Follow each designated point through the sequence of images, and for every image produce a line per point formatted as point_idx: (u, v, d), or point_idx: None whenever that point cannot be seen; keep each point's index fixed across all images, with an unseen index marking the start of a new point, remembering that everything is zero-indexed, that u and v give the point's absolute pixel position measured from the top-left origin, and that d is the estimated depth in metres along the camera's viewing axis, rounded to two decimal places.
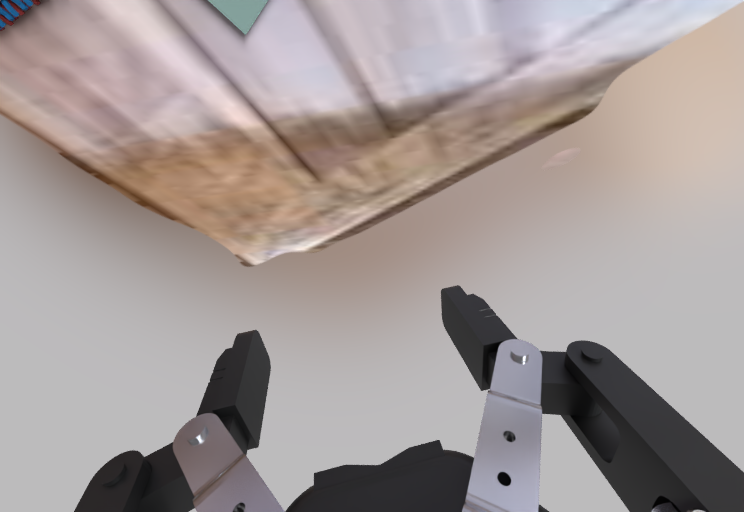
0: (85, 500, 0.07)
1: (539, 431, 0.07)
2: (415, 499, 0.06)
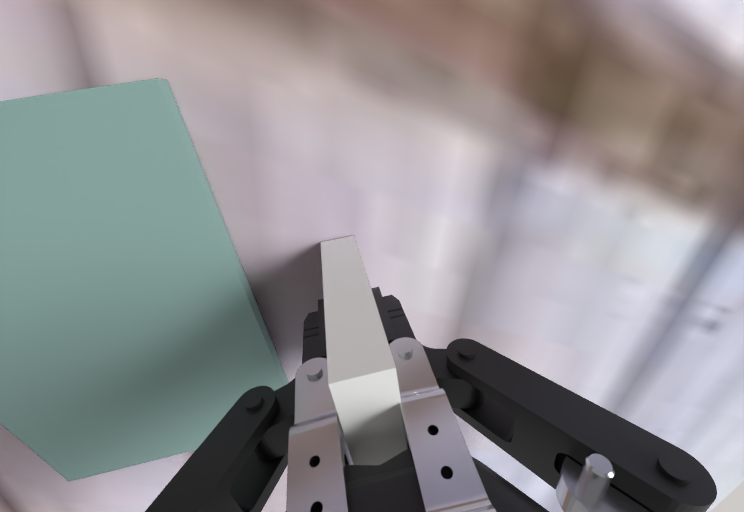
0: (233, 410, 0.09)
1: (451, 411, 0.07)
2: (415, 499, 0.06)
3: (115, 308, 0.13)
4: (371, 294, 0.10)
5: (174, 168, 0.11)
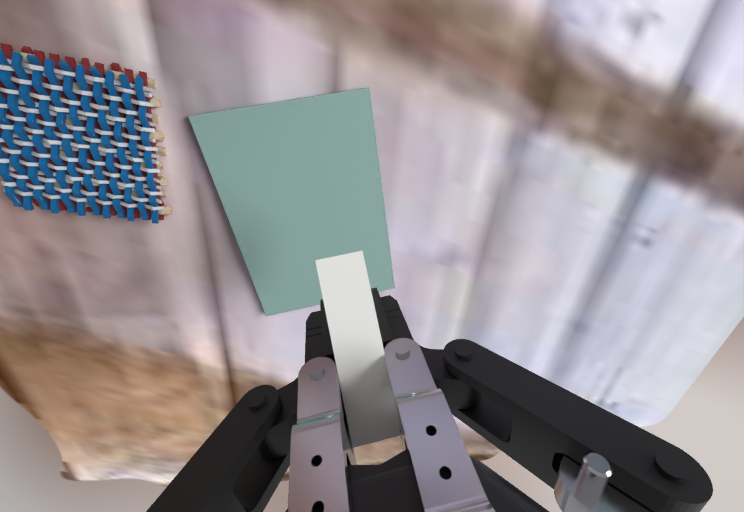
0: (236, 409, 0.09)
1: (449, 411, 0.07)
2: (415, 499, 0.06)
3: (321, 202, 0.26)
4: None
5: (366, 128, 0.24)
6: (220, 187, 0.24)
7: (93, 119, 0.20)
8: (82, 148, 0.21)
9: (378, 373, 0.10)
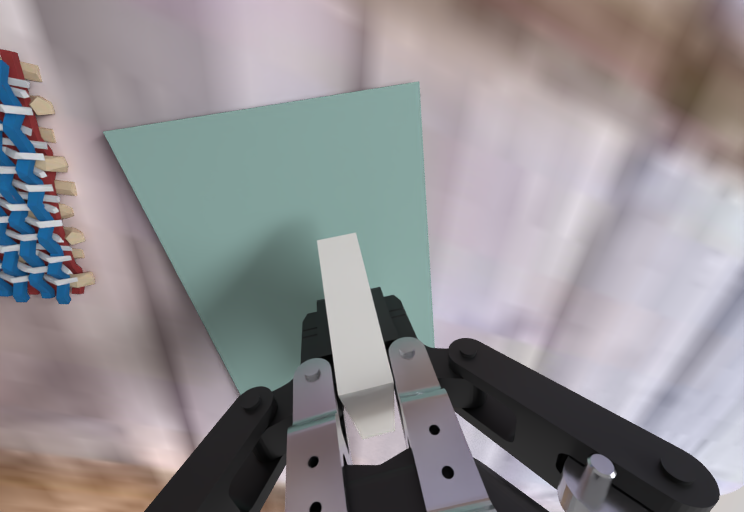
0: (231, 411, 0.09)
1: (452, 411, 0.07)
2: (415, 499, 0.06)
3: None
4: None
5: (410, 149, 0.14)
6: (170, 246, 0.14)
7: None
8: None
9: (367, 322, 0.10)
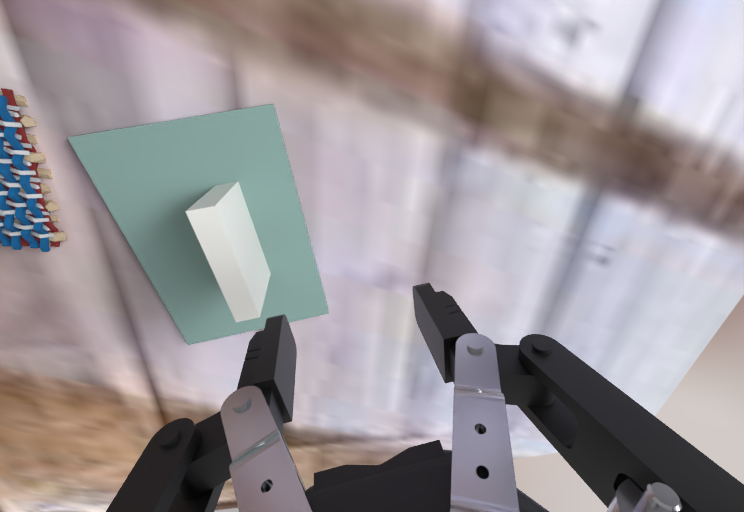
0: (145, 456, 0.08)
1: (505, 418, 0.07)
2: (415, 499, 0.06)
3: None
4: (251, 220, 0.24)
5: (274, 148, 0.22)
6: (116, 213, 0.22)
7: None
8: None
9: (218, 197, 0.19)
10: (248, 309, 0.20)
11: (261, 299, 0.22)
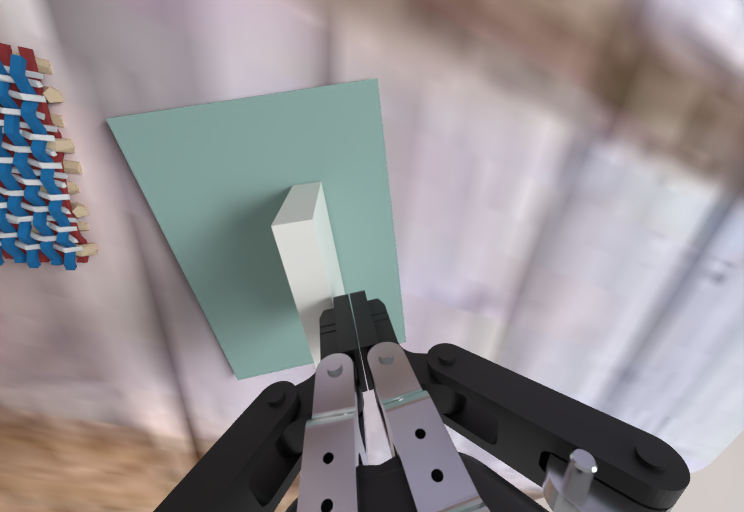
0: (256, 403, 0.09)
1: (436, 412, 0.07)
2: None
3: None
4: (330, 231, 0.18)
5: (372, 137, 0.16)
6: (164, 220, 0.17)
7: None
8: None
9: (308, 204, 0.13)
10: None
11: None
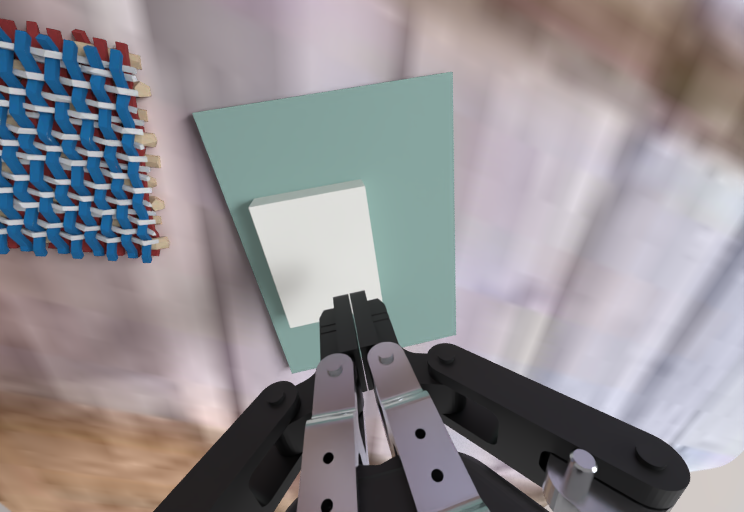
0: (256, 403, 0.09)
1: (436, 412, 0.07)
2: None
3: (373, 230, 0.19)
4: None
5: (442, 130, 0.17)
6: (237, 213, 0.17)
7: (49, 116, 0.13)
8: (34, 160, 0.14)
9: (288, 198, 0.16)
10: None
11: (313, 317, 0.19)
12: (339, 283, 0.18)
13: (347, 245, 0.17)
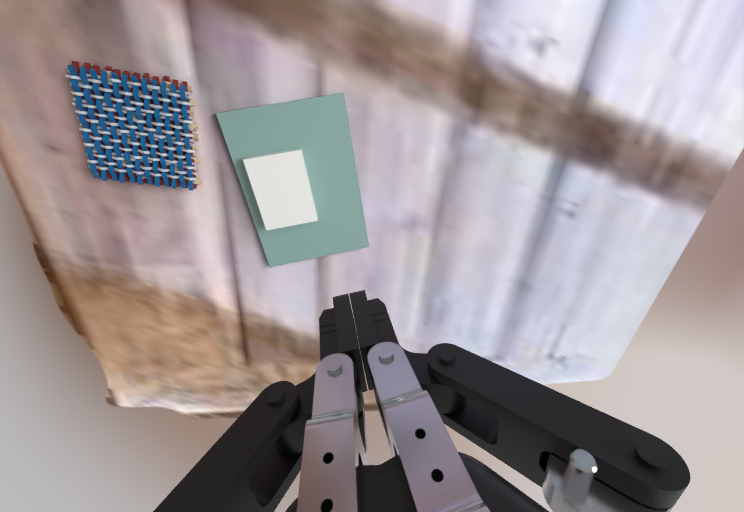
0: (256, 403, 0.09)
1: (436, 412, 0.07)
2: None
3: (311, 177, 0.35)
4: (308, 178, 0.33)
5: (342, 122, 0.33)
6: (237, 165, 0.33)
7: (151, 115, 0.29)
8: (142, 135, 0.30)
9: (262, 155, 0.32)
10: None
11: (279, 224, 0.35)
12: (291, 204, 0.34)
13: (294, 182, 0.33)
